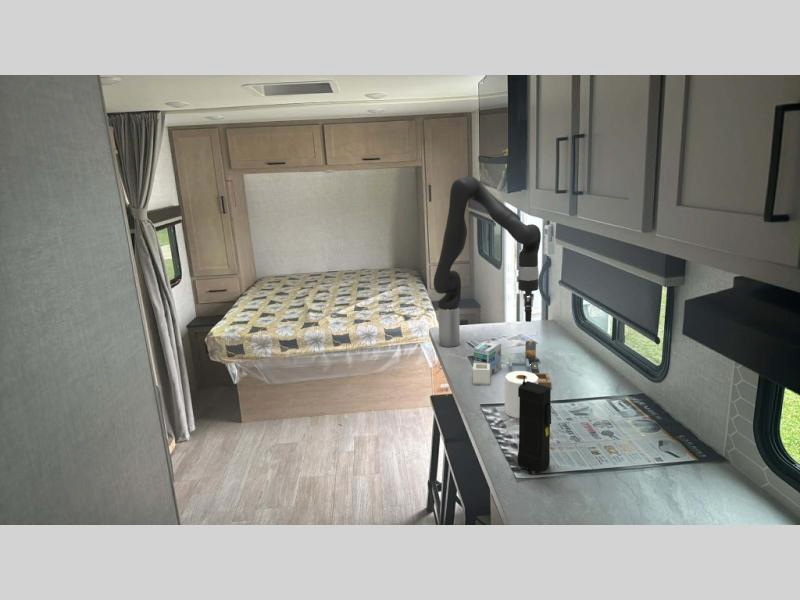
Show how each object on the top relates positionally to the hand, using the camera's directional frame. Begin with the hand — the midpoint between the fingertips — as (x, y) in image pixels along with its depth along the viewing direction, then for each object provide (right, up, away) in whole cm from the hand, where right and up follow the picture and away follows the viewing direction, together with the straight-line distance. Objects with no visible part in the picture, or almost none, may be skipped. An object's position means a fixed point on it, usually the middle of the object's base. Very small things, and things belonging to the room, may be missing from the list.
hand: (528, 318), depth 201 cm
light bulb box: (-16, -21, 0) cm, 26 cm away
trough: (0, -23, -14) cm, 27 cm away
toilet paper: (-11, -29, -34) cm, 46 cm away
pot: (-20, -23, -10) cm, 32 cm away
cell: (+2, -18, +6) cm, 19 cm away
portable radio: (-14, -37, -64) cm, 75 cm away
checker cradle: (-3, -21, -3) cm, 21 cm away
